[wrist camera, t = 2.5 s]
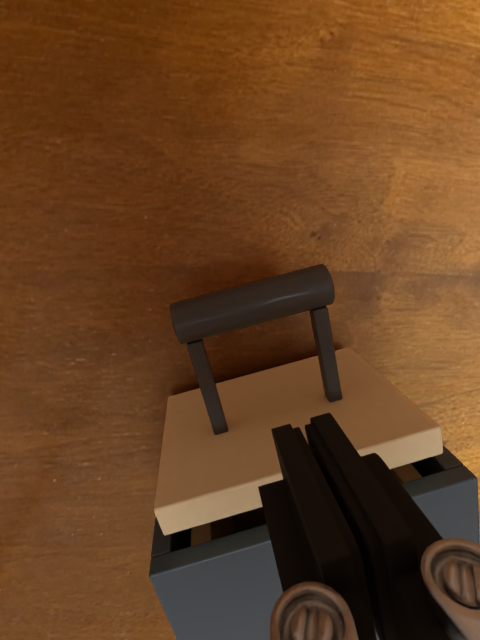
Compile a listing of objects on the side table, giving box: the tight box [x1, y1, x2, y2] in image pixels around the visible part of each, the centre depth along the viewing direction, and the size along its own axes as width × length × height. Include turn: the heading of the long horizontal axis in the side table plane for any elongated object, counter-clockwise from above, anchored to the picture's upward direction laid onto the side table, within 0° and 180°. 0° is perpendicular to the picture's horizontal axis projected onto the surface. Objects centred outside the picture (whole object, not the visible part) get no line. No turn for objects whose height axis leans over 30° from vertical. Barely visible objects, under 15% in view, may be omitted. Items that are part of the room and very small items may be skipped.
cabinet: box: [149, 446, 480, 640], centre depth 18 cm, size 13×11×9 cm
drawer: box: [154, 264, 443, 546], centre depth 17 cm, size 18×10×8 cm, turn 13°
